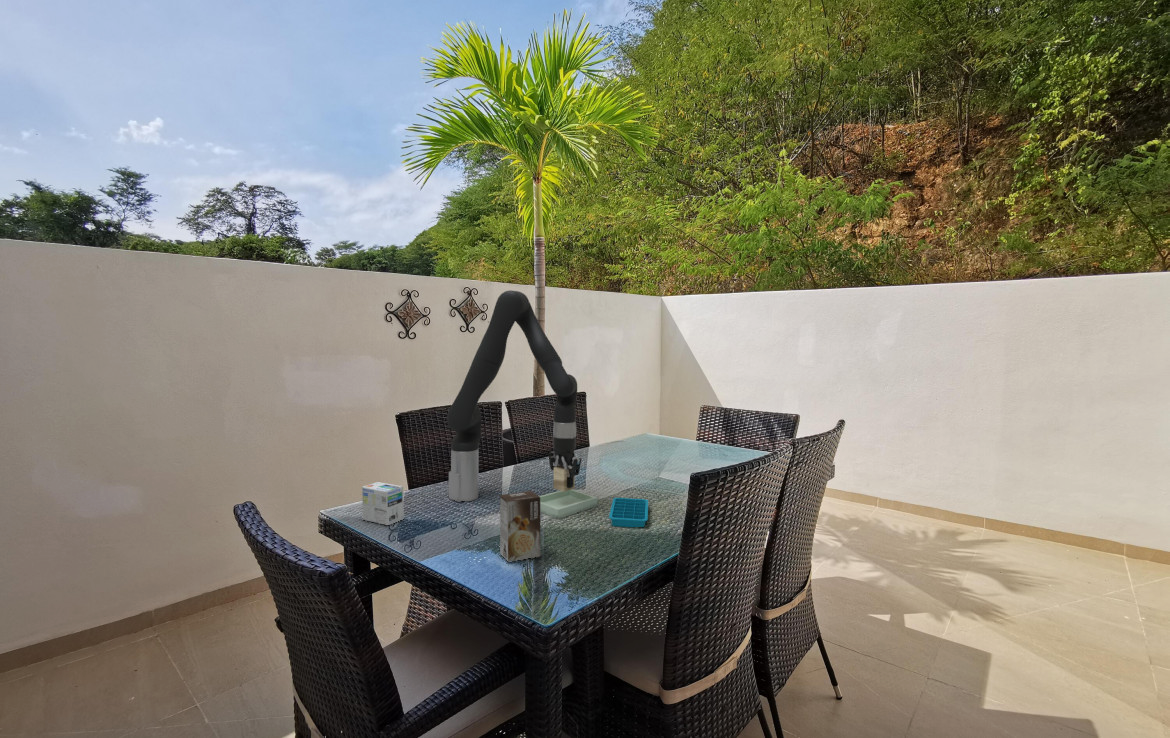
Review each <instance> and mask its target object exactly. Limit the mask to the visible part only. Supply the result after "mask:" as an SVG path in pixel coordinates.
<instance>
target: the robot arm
mask: <svg viewBox="0 0 1170 738" xmlns="http://www.w3.org/2000/svg"><path fill="white" fill-rule="evenodd" d="M515 323H516V324H517V325H518V327H520V329H521V330H522V332H523V334H524V336H525V338H526V340H527V344H528V346H529V348H530V350H531V353H532V355H533V356H534V358H535V361H536V363H538V365H539V367H540V368H541V370H542V371H543V372H544V374H545V377H546V379H547V382H548V384H549V385H550V388H551V390H552V391H553V393H554V394H556V403H555V405H554V411H553V428H552V429H553V430H552V431H553V433H552V435H553V436H552V437H553V438H552V444H553V445H552V449H553V450H554V451H550V452H548V453H547V454H548V462H549V469H550V470H551V471H553V472H554V467H561V466H564V469H565V470H567V476H568V477H567V488H571V487H573V485H574V476H575V477H576V476H579V474H580V469H581V464H582V458H581V457H576V455H575V450H576V448H577V424H576V416H577V415H576V405H577V404H576V403H577V398H578V397H577V395H578V382H577V379H576V378H575V376H573V375H572V374H569V373H568V372H567V371H566V370H565V368H564V366H563V361H562V358H561V357H560V355H559V354H558V352H557V350H556V349H555V347H554V346H553V344H552V342H551V341H550V340H549V338H548V337H547V335H546V333H545V331H544V330H543V328H542V327H541V324H540V323H539V320H538V319H537V316H536V314H535V312H534V310H533V307H532V305H531V302H530V300H529V298H528V296H527V295H526V294H524V293H523V292H521V291H517V290H509V289H508V290H506V291H504V292H502V293H501V294H500V295H499V296H498V297H497V300H496V302H495V305H494V308H493V312H492V316H491V318H490V321H489V324H488V326H487V328H486V330H485V333H484V335H483V337H482V339H481V342H480V344H479V346H478V348H477V349H476V351H475V355H474V357H473V359H472V361H471V364H470V367H469V369H468V372H467V374H466V375H465V378H464V381H463V382H462V385H461V388H460V390H459V392H458V394H457V396H456V397H455V399H454V401H453V402H452V405H451V406H450V408H449V409H448V412H447V416H446V422H447V425H448V426H449V428H450V429H451V430H452V431H455V432H456V434H455V436H454V438H452V440H451V443H450V445H451V447H450V456H451V458H450V466H451V468H450V470H449V471H448V498H449V500H451V501H454V500H455V501H454V502H456V501H457V502H456V503H461V501H465V502H470V501H475V500H477V499H478V498H479V451H480V450H479V447H480V441H481V438H482V421H483V420H482V412H481V408H480V407H479V405H478V402H479V400H480V398H481V396H482V395H483V394H484V392H485V391H487V389H488V388H489V387H490V385H491V384H492V383H493V381H494V380H495V379H496V377H497V376H498V374H499V371H500V369H501V367H502V365H503V362H504V359H505V355H506V350H507V343H508V337H509V335H510V333H511V330H512V328H513V326H514V324H515ZM568 466H570V467H568ZM570 469H571V473H570Z"/></svg>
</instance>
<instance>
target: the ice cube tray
mask: <svg viewBox="0 0 1170 738" xmlns="http://www.w3.org/2000/svg"><path fill="white" fill-rule="evenodd" d="M648 511H649V500H648V499H644V498H630V497H614V498H612V503H611V507H610V511H609V516H608V518H609V520H611V526H612V527H620V528H634V527H644V526H646V522H647V521H648V520H649V519H648V517H649V516H648V515H649V512H648ZM644 528H645V527H644Z"/></svg>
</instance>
